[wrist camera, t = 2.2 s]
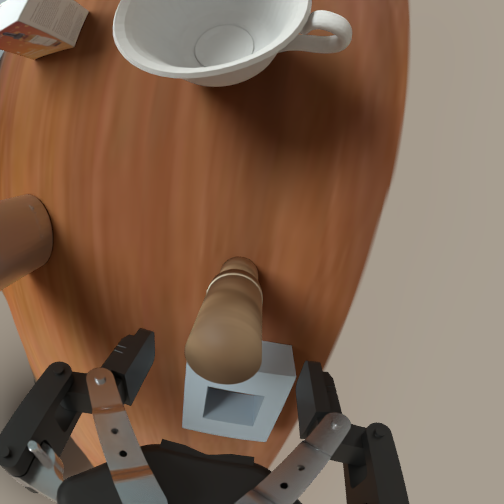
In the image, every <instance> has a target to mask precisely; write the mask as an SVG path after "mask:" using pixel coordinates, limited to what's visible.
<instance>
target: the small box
mask: <svg viewBox="0 0 504 504" xmlns="http://www.w3.org/2000/svg"><path fill="white" fill-rule="evenodd" d="M88 12H89V11H88V10H86V9H85V8H84V7H82V6H81V5H80V4H78V3H77V2H76V1H74V0H6V1H5V2H3V3H2V4H0V50H4V51H7V52H11V53H14V54H17V55H20V56H24V57H27V58H30V59H33V60H34V59H37V58H39V57H42V56H45V55H48V54H51V53H54V52H58V51H61V50H65V49H69V48H73V47H75V44H76V41H77V38H78V36H79V33H80V31H81V28H82V26H83V23H84V21H85V19H86V17H87V14H88Z"/></svg>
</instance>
